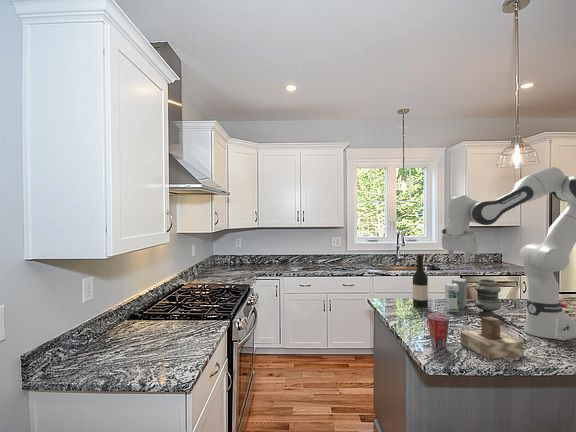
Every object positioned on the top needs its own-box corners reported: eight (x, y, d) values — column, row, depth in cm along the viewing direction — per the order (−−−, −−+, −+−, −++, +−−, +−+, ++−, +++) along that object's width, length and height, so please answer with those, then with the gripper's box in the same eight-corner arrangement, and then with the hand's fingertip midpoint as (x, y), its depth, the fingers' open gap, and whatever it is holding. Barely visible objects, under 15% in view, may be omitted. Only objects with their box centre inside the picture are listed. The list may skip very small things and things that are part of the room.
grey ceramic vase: (477, 317, 180) (476, 282, 180) (472, 311, 191) (472, 278, 191) (504, 319, 176) (503, 283, 176) (497, 312, 188) (497, 279, 188)
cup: (453, 346, 141) (452, 316, 141) (446, 352, 135) (445, 321, 135) (429, 341, 147) (429, 312, 147) (421, 346, 141) (421, 316, 141)
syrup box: (448, 311, 191) (447, 285, 191) (445, 309, 197) (444, 282, 197) (459, 312, 190) (459, 285, 190) (456, 309, 196) (455, 283, 196)
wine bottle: (423, 308, 198) (422, 255, 198) (409, 305, 204) (409, 253, 204) (431, 306, 203) (430, 253, 203) (417, 303, 209) (417, 252, 210)
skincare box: (454, 304, 206) (454, 277, 206) (467, 306, 202) (467, 278, 202) (450, 307, 200) (450, 279, 200) (464, 309, 195) (463, 280, 195)
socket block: (492, 341, 146) (492, 329, 146) (523, 355, 131) (523, 341, 131) (460, 344, 143) (460, 331, 143) (488, 358, 128) (488, 344, 128)
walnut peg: (491, 346, 140) (491, 316, 140) (500, 351, 136) (500, 319, 136) (481, 347, 139) (481, 317, 139) (490, 352, 135) (489, 320, 135)
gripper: (481, 231, 154) (481, 263, 154) (450, 230, 174) (450, 258, 174) (468, 231, 153) (468, 263, 153) (439, 230, 173) (439, 258, 173)
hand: (459, 260), depth 163 cm, fingers open, 8 cm apart
